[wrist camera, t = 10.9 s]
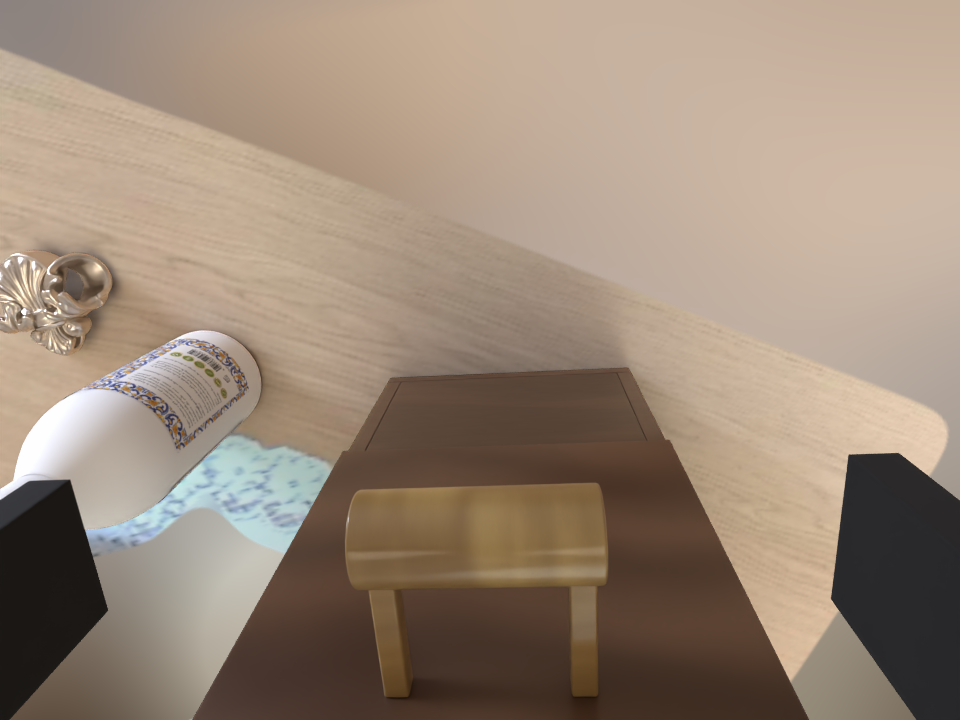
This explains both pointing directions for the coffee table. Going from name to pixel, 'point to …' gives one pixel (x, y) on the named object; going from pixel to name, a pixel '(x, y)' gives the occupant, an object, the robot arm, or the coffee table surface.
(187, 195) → the coffee table surface
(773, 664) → the chest lid
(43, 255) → the ornament
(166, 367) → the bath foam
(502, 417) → the chest
